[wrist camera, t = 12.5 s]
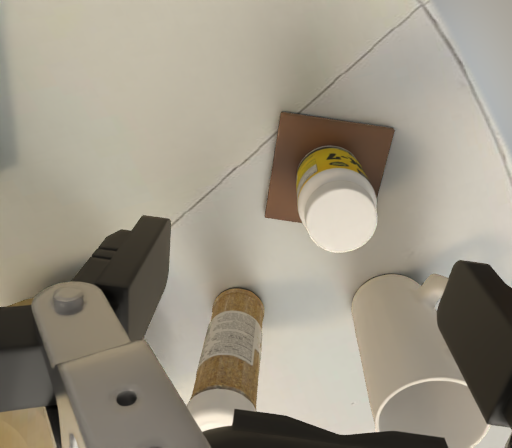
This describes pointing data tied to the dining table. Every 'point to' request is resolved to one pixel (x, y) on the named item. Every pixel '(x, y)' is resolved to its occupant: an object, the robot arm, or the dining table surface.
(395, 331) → the mug
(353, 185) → the supplement bottle
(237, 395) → the sprinkles bottle
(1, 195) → the dining table surface
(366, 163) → the coaster
